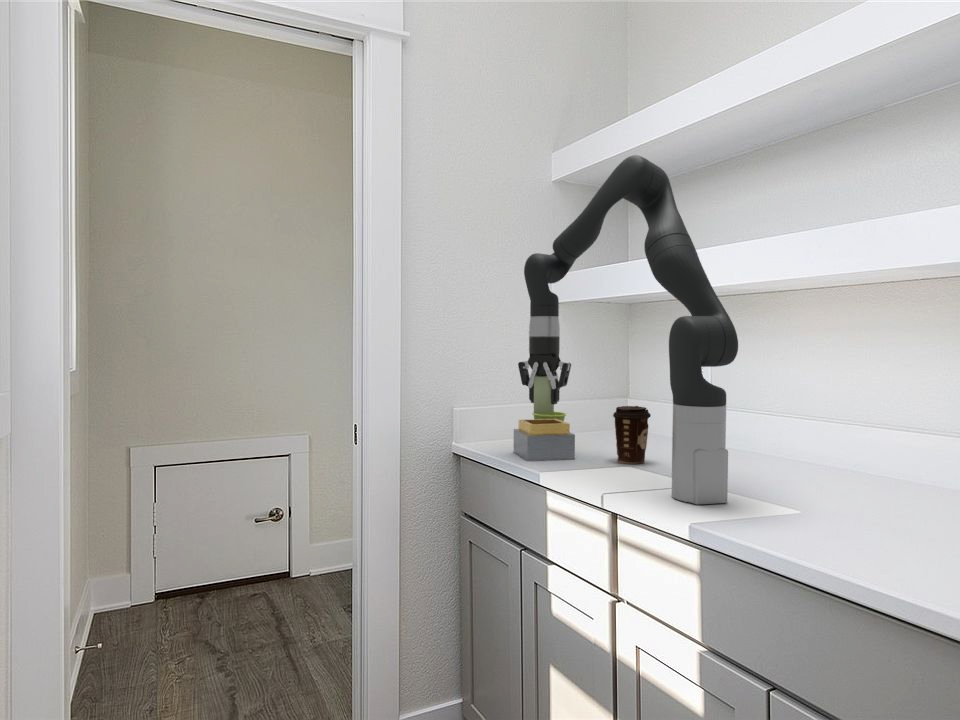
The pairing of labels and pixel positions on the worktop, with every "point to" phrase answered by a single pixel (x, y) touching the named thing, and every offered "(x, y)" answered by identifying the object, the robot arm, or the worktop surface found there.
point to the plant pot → (550, 416)
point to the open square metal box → (544, 440)
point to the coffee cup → (631, 433)
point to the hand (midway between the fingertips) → (544, 403)
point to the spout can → (542, 395)
